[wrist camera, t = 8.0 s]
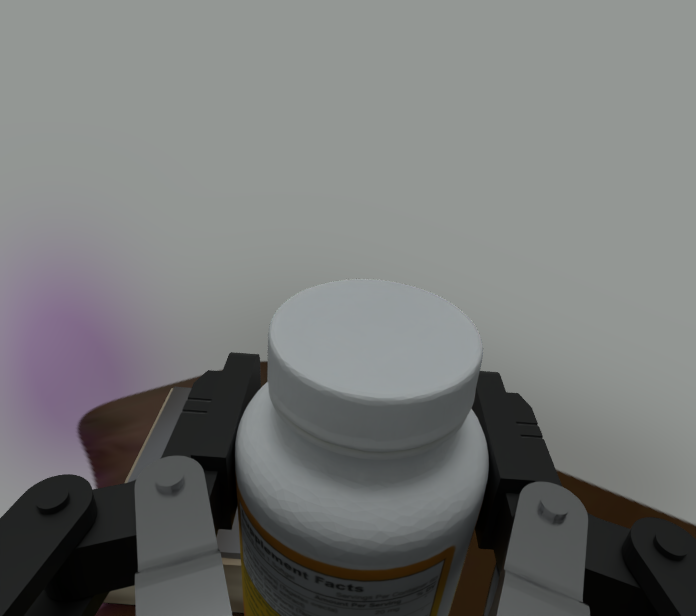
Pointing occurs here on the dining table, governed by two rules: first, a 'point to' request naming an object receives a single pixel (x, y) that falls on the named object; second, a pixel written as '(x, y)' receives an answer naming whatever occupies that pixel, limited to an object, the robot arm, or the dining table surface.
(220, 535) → the plinth
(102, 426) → the dining table surface
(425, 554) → the supplement bottle
